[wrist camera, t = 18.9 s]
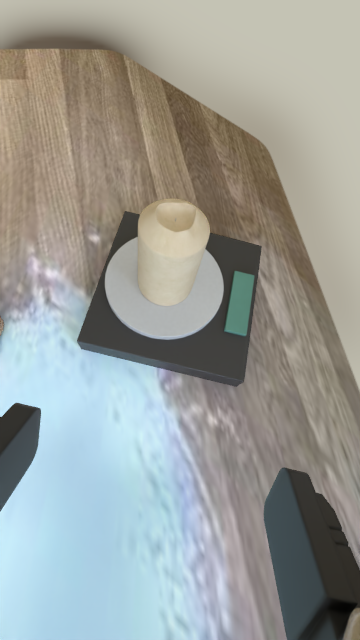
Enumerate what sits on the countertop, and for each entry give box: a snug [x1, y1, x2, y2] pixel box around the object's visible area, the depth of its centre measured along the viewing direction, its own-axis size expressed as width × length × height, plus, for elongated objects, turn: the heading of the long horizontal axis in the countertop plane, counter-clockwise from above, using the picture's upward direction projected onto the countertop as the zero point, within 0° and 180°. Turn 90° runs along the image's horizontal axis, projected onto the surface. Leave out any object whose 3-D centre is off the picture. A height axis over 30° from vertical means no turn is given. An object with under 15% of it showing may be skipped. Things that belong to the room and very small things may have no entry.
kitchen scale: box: [77, 211, 262, 386], centre depth 34 cm, size 16×16×3 cm
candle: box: [138, 198, 210, 306], centre depth 27 cm, size 6×6×10 cm
